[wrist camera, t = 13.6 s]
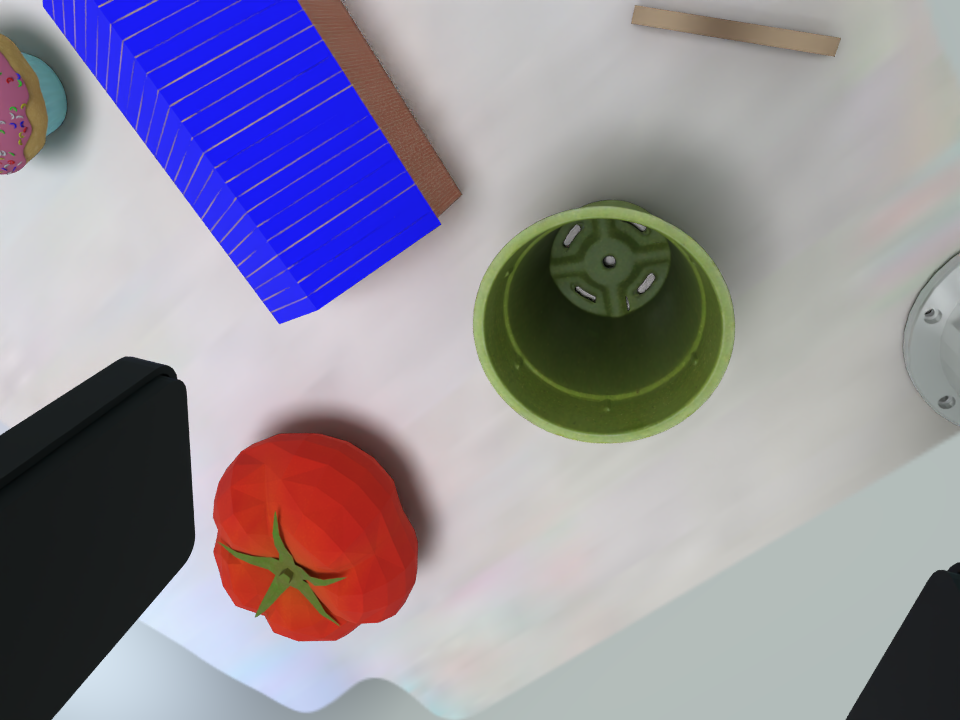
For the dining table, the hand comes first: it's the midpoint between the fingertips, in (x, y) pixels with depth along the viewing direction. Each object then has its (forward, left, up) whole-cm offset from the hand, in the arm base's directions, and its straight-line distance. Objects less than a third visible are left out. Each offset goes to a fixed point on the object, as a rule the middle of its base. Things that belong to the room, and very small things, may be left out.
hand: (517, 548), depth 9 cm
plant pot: (-1, +7, -34) cm, 35 cm away
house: (+19, +1, -35) cm, 40 cm away
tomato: (+15, +30, -35) cm, 48 cm away
